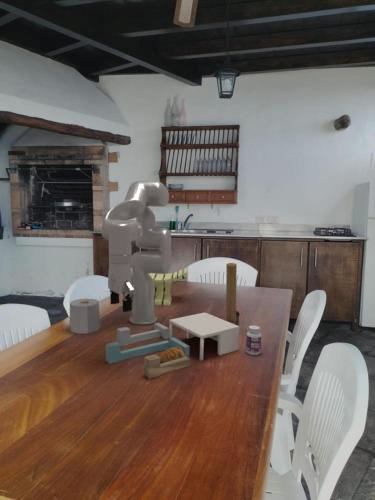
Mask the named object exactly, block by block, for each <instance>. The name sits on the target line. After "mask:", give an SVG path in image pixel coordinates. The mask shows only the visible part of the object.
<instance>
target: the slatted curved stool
mask: <svg viewBox="0 0 375 500" xmlns="http://www.w3.org/2000/svg"><path fill="white" fill-rule="evenodd" d="M188 270H189V269H188V267H185V268H184V269H180V270H179V271H174V272H170V273H169V272H168V273H165V274H157V273H149V275H150V276H151V277H152V279H153V281H154V306H155V305H158V306H161V305H163V306H171V303H172V300H173V298H172V295H171V289H172V288H171V287H172V285H173V283H175V282H176V281H185V282H188V281H189V280H188V277H189V276H188V274H189V271H188ZM131 272H132V267H131ZM132 277H133V274H132Z"/></svg>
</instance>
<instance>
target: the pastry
mask: <svg viewBox="0 0 375 500" xmlns="http://www.w3.org/2000/svg"><path fill="white" fill-rule="evenodd" d="M157 356H159V357H160V363H166V362H169V361H173V360H176V359H180V358H183V357H185V354H184V352H183V349H182V348H181V347H177V346H176V347H174V348H168V349H166V350H163V351H161V353H159V354H157Z"/></svg>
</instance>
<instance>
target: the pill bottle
mask: <svg viewBox="0 0 375 500" xmlns="http://www.w3.org/2000/svg"><path fill="white" fill-rule="evenodd" d="M260 331H261V327H260V326H258V325H249V326H248V331H247V333H246V339H245V353H247V354H248V355H251V356H258V355H260V354H261V350H262V349H261V348H262V333H261V332H260Z"/></svg>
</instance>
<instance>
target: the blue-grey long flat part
mask: <svg viewBox="0 0 375 500" xmlns="http://www.w3.org/2000/svg"><path fill="white" fill-rule="evenodd" d="M176 346H177V347H181V348H182V349H183V352H184V354H185V357H188V358H190V347H191V346H190V345H188V344H186V343H185V342H183V341H181V340H180V339H178V338H176V337H175V336H174V337H173V338H170V342H169V340H164V341H158V342H154V343H150V344H146V345H142V346H138V347H137V346H136V347H132V348H129V349H123V350H121V348H122V346H121V345H120V344H119V343H118V342H117V341H114V342H110V343H109V342H108V343H106V344H105V361H106V362H107V363H108V364H109V365H112V364H115V363H119V362H122V361H125V360H129V359H133V358H137V357H141V356H144V355H145V356H146V355H150V354H154V353H157V352H163V351H165V350H166V349H168V348H174V347H176Z"/></svg>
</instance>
